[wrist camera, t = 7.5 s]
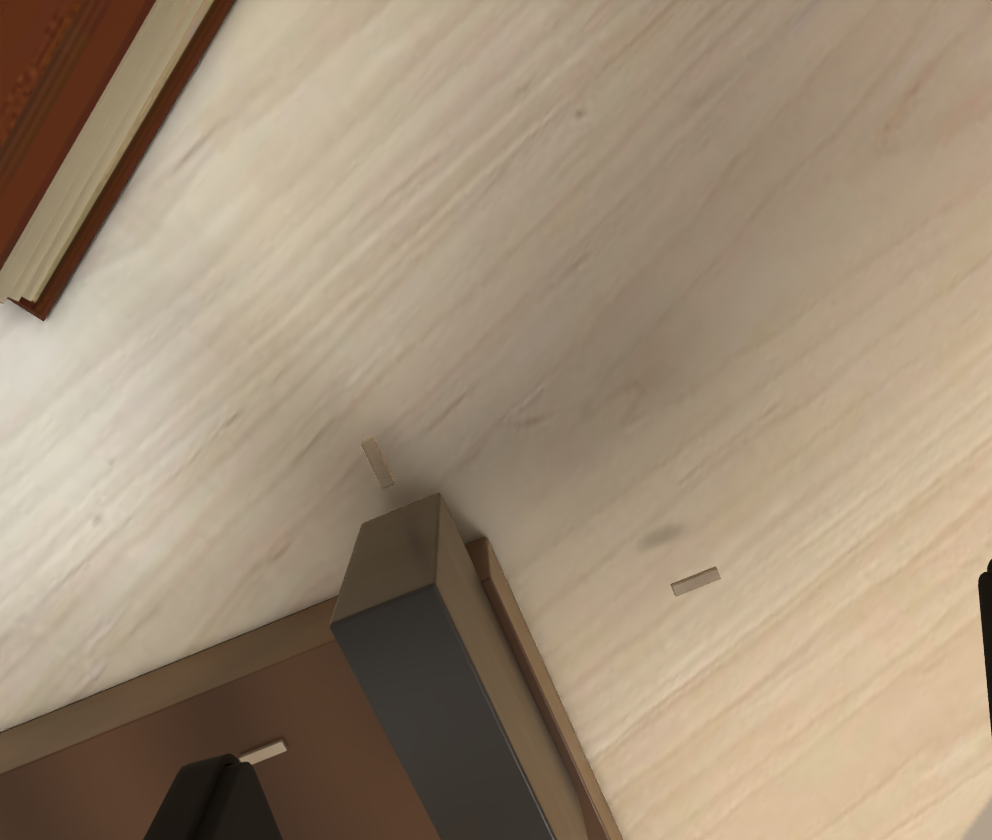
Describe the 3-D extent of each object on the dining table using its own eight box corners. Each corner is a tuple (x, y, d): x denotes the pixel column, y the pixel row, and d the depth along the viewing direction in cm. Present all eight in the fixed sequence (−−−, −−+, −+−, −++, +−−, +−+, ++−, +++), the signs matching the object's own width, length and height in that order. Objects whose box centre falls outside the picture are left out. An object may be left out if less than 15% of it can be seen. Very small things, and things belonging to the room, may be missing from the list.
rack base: (606, 318, 22) (631, 331, 19) (790, 816, 27) (833, 890, 24) (-94, 610, 23) (-177, 666, 20) (206, 1037, 28) (176, 1135, 25)
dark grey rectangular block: (360, 522, 20) (324, 632, 15) (440, 490, 20) (434, 588, 14) (508, 822, 23) (525, 1011, 17) (579, 796, 23) (619, 977, 17)
